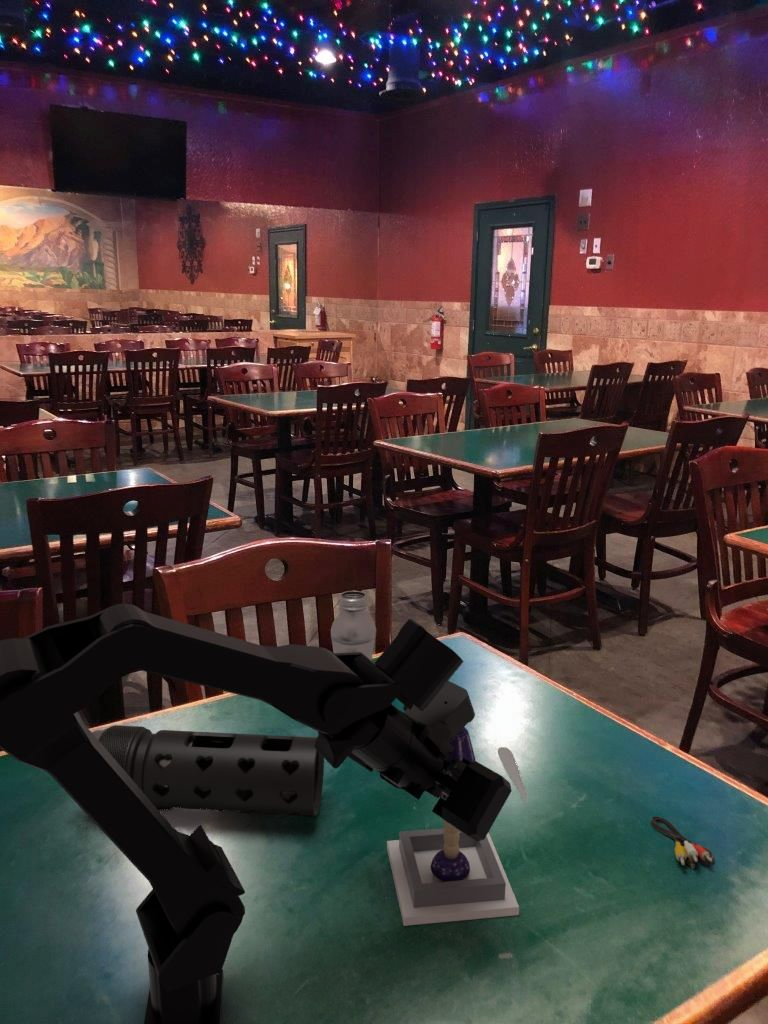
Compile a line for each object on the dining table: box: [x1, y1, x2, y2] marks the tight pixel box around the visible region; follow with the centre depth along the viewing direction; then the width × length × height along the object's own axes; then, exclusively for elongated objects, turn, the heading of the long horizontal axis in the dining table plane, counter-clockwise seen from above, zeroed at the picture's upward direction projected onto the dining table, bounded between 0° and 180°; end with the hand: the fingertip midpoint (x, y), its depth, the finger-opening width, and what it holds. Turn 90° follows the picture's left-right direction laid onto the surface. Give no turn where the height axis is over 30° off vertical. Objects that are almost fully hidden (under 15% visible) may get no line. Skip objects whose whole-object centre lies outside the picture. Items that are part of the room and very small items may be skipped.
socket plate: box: [386, 827, 520, 927], centre depth 90 cm, size 12×12×3 cm
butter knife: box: [497, 746, 529, 803], centre depth 103 cm, size 1×27×3 cm
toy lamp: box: [431, 726, 476, 882], centre depth 87 cm, size 5×5×17 cm
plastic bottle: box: [330, 590, 377, 662], centre depth 120 cm, size 6×7×20 cm
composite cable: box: [650, 815, 715, 870], centre depth 96 cm, size 10×5×2 cm, turn 5°
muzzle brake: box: [91, 724, 325, 818], centre depth 100 cm, size 10×28×10 cm, turn 86°
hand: (460, 797), depth 88 cm, fingers closed on toy lamp, 4 cm apart
